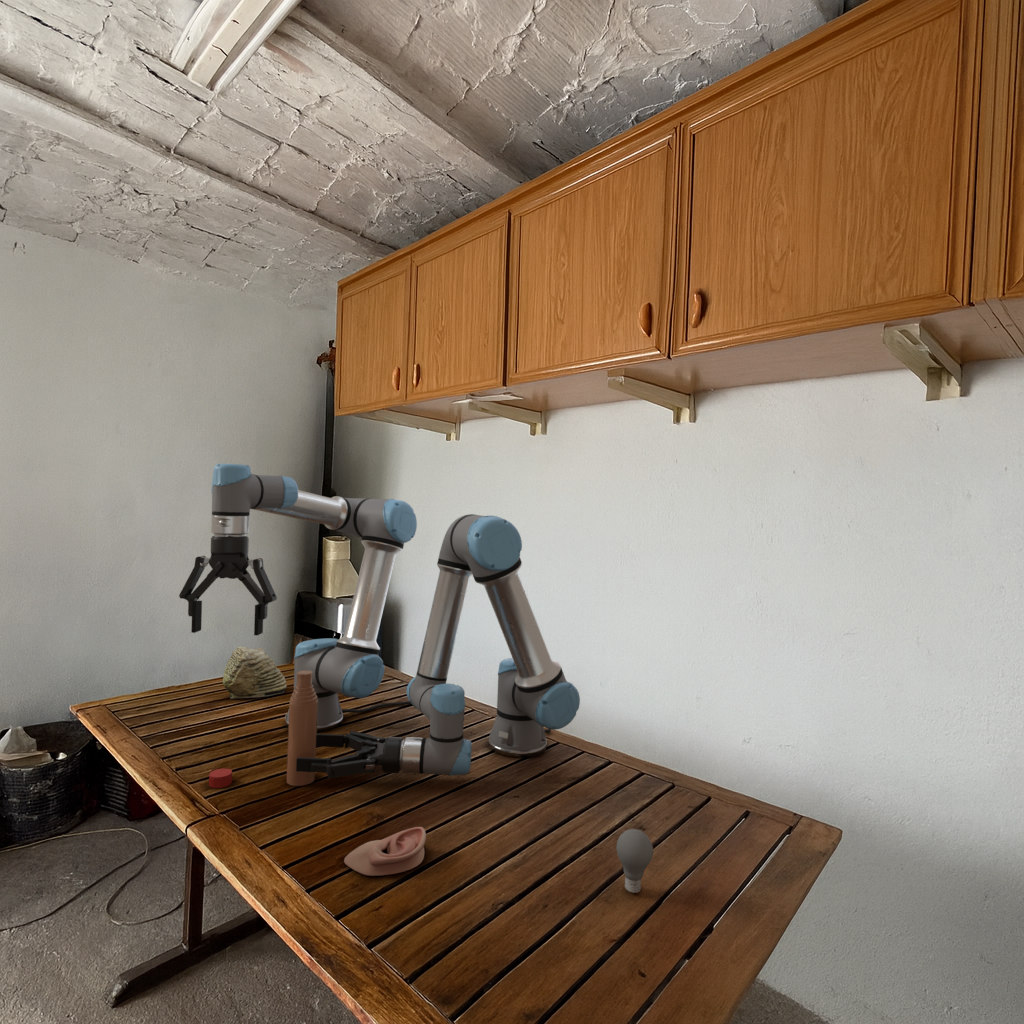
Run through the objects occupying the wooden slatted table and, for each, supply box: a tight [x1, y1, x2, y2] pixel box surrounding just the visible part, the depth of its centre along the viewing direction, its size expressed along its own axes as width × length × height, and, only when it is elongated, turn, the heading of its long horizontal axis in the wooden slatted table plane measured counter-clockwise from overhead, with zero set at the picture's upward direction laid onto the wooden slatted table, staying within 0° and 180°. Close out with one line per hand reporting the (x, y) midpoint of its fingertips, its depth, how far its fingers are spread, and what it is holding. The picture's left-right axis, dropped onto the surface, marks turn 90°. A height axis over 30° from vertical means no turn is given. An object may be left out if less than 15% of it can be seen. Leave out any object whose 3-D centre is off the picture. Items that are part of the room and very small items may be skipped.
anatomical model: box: [343, 826, 427, 877], centre depth 112 cm, size 13×4×12 cm
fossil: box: [222, 646, 288, 699], centre depth 198 cm, size 9×18×15 cm, turn 132°
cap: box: [208, 767, 233, 789], centre depth 138 cm, size 5×5×2 cm
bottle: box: [286, 670, 318, 787], centre depth 141 cm, size 6×6×24 cm
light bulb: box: [615, 828, 654, 894], centre depth 106 cm, size 6×6×10 cm
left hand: (227, 632), depth 138 cm, fingers open, 13 cm apart
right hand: (306, 751), depth 141 cm, fingers open, 13 cm apart
